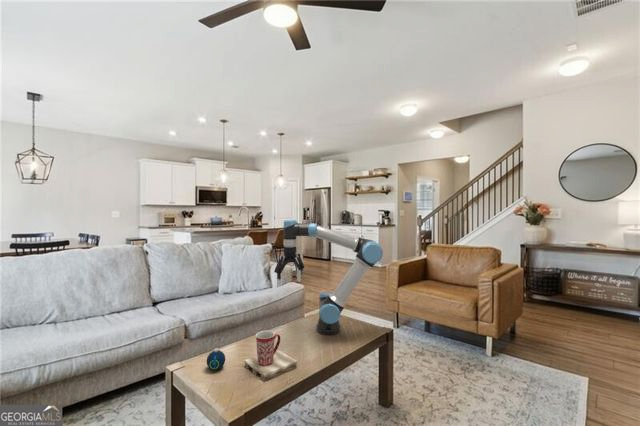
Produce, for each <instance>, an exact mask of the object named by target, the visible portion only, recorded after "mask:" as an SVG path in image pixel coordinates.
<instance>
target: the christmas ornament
mask: <svg viewBox="0 0 640 426" xmlns="http://www.w3.org/2000/svg"><path fill="white" fill-rule="evenodd" d="M225 362H226V354H225V353H224V352H223V351H222V350H219V348H218V347H217V348H216V347H215V348H214V349H213V351H211V352H209V354H208V355H207V357H206V366H207V367H208V368H209V369H210V370H213V371H217V370H219V369H222V367H223V366H224V365H225Z"/></svg>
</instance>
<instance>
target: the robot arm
mask: <svg viewBox="0 0 640 426" xmlns="http://www.w3.org/2000/svg"><path fill="white" fill-rule="evenodd" d="M282 234H283V251H282V252H283V255H279V257H278V260H277V263H276V266H275V269H274V272H273V273H276V274H277V277H276V279H277V280H278V281H277V283H278V285H279V286H282V285H283V273H282V272H283V271H284V269H285V267H286V266H287V264H290V263H293V265H295V267H296V268H297V270H296V281H297V282H301V281H302V274H303V273H302V271H303V270H304V269H305V266H304V265H305V264H304V263H303V261H302V258H301V253H297V237H310V238H311V237H313V238H317V239H320V240H322V241H325V242H329V243H331V244H335V245H337V246H341V247H344V248H347V249H349V250H352V252H354V253H356V255H355V261H354V262H353V264H352V265H351V267H350V268H349V269H348V271H347V272H346V274H345V275H344V276H343V278H342V279H341V281H340V282H339V283H338V285H337V286H336V288H335V290H333V292H322V293H319V296H318V298H319V300H318V303H319V307H318V308H319V312H318V314H319V315H318V316H319V318H318V320H317V324H316V327H315V328H316V332H317V333H320V334H322V335H336V334H338V333H340V332H341V330H342V328H341V323H340V317H341V313H342V312H343V310H344V309H345V307H346V302H347V300H348V298H350V295H352V293H353V291H354V290H355V289H356V287H357V286H358V284H359V283H360V281H361V280H362V278H363V277H364V276H365V274H366V273H367V272H368V270H370V269H373V267H374V266H375V265H376V263H379V262H380V261H381V259H382V258H383V256H384V253H383V252H384V251H383V248H382V246H381V245H380V244H379V243H378V242H376V241H374V240H372V239H367V238H362V237H359V236H357V237H354V236H351V235H348V234H345V233H342V232H339V231H337V230H332V229H330V228H327V227H324V226H321V225H319V224H317V223H313V222H310V221H306V222H304V223H303V222H302V223H300V222H299V223H297V220H296V219H285V220H283V233H282Z"/></svg>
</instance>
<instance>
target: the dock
mask: <svg viewBox="0 0 640 426" xmlns="http://www.w3.org/2000/svg"><path fill="white" fill-rule="evenodd" d="M297 364H298V360H296V359H294V358H293V357H291V356H289V355H287V354H285V353H284V352H282V351H280V350H279V349H277V350H276V352H275V354H274V356H273V363H272V364H271V365H268V366H260V365H259V364H258V358H257V355H253V356H251V357H249V358H246V359H244V367H245V368H246V369H248V370H249V369H252V373H253V374H254V375H255V376H257V375H260V379H261V380H262V381H263V382H266V381H268V380H270V379H273V378H276V377H278V376H280V375H282V374H284V373H286V372H289V371H290V370H293V369H295V368H297Z"/></svg>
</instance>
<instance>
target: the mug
mask: <svg viewBox="0 0 640 426" xmlns="http://www.w3.org/2000/svg"><path fill="white" fill-rule="evenodd" d="M276 338H277V342H276V343H275V340H276ZM255 339H256V341H255V342H256V354H257V355H256V356H257V358H258V364H259V365H260V366H268V365H271V364H272V363H273V356H274V354H275V352H276V350H278V348H279V346H280V343H281V336H280V334H278V333H275V332H274V331H272V330H262V331H259V332H257V333H256V334H255Z"/></svg>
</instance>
